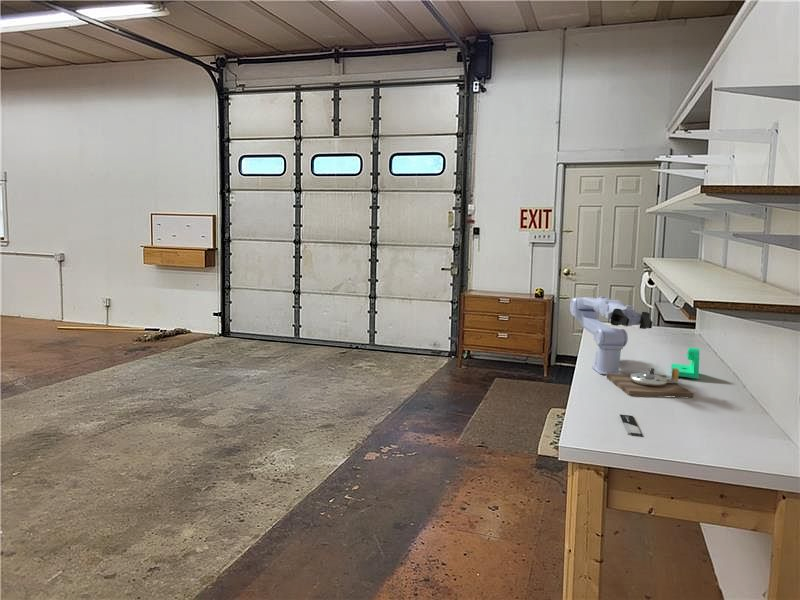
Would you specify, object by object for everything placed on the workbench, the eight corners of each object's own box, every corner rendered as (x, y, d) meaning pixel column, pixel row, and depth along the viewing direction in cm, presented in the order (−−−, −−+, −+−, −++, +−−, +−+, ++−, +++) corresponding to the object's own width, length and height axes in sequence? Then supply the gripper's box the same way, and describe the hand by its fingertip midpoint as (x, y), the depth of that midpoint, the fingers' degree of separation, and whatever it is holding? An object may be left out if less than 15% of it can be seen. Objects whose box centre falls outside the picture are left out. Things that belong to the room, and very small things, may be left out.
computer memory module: (643, 434, 149) (627, 432, 150) (643, 438, 150) (626, 436, 150) (634, 415, 164) (619, 413, 165) (634, 418, 164) (618, 417, 165)
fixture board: (606, 377, 204) (606, 373, 203) (664, 379, 204) (664, 375, 204) (628, 395, 184) (629, 390, 184) (693, 397, 184) (693, 393, 184)
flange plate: (638, 386, 188) (639, 372, 187) (624, 377, 199) (626, 363, 198) (684, 388, 188) (686, 373, 188) (668, 378, 199) (670, 364, 199)
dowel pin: (648, 377, 200) (649, 368, 200) (652, 377, 200) (653, 368, 200) (649, 378, 199) (650, 369, 199) (654, 378, 199) (655, 369, 199)
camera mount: (670, 370, 218) (673, 342, 216) (693, 373, 215) (696, 345, 214) (673, 378, 207) (676, 349, 205) (697, 381, 204) (701, 352, 203)
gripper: (603, 299, 200) (619, 308, 186) (644, 304, 201) (663, 314, 188) (598, 320, 201) (615, 330, 188) (639, 325, 202) (659, 335, 189)
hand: (639, 323), depth 188 cm, fingers open, 7 cm apart
